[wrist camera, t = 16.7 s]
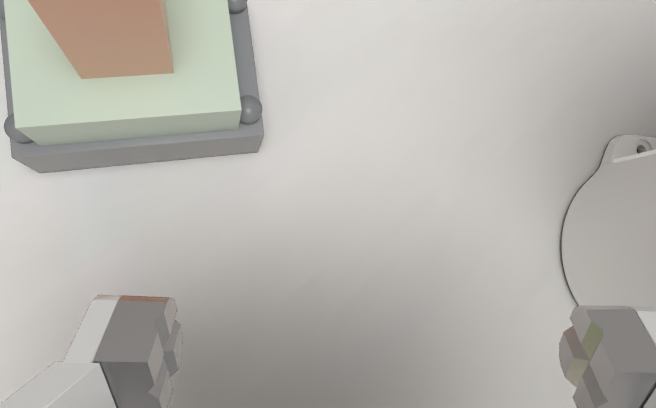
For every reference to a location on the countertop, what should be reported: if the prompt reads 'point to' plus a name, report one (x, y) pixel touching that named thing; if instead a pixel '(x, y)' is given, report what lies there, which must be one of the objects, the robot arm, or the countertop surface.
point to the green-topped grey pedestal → (133, 94)
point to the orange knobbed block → (110, 35)
